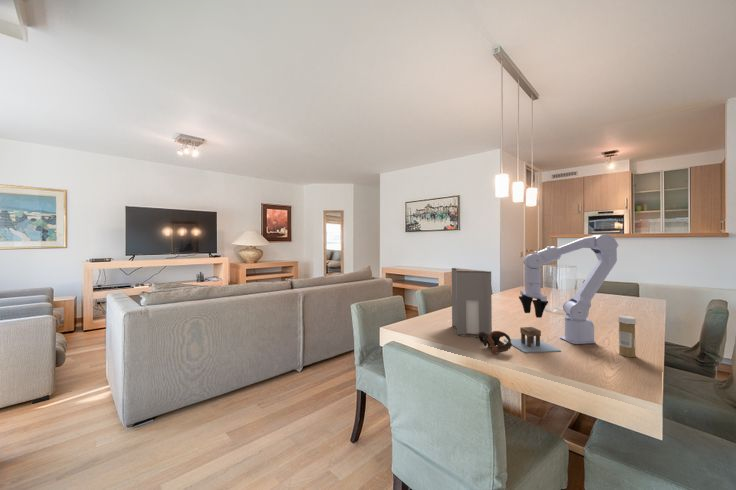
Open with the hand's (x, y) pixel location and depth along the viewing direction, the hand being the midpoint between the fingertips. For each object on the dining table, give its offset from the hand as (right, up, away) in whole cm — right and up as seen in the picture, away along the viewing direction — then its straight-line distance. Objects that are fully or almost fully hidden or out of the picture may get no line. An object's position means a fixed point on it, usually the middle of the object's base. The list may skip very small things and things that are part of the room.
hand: (532, 315), depth 124 cm
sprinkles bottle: (+22, -10, -20) cm, 31 cm away
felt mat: (-6, -10, -10) cm, 15 cm away
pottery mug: (-22, -10, -14) cm, 28 cm away
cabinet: (-27, -10, +7) cm, 29 cm away
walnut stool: (-6, -9, -9) cm, 15 cm away
